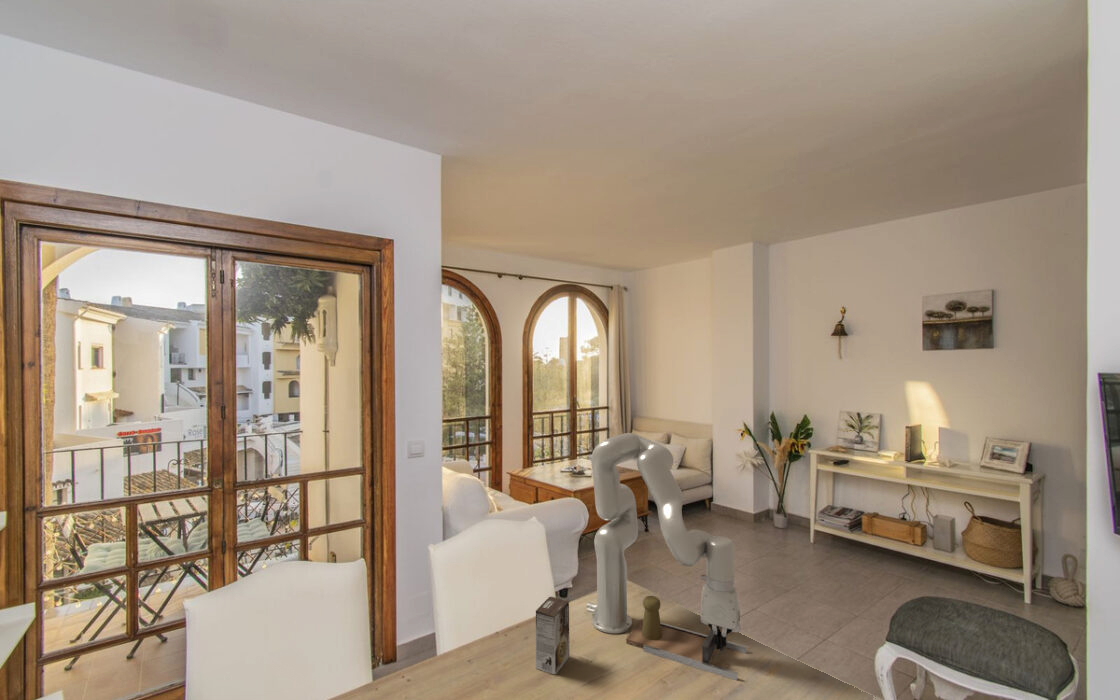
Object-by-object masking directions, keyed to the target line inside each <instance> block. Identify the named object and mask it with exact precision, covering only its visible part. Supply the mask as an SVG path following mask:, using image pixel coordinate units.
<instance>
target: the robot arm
mask: <svg viewBox="0 0 1120 700" xmlns="http://www.w3.org/2000/svg"><path fill="white" fill-rule="evenodd" d="M590 459H591V462H590V463H591V470H592V476H593V490H594V491H593V492H594V501H595V502H594V503H595V510H596V513H597V516H598V517H599V518H600V519H602V520H603V521H609V522H607V523H605V524H604V525H602V526H601V527H599V529H598V530H597V531H596V533H595V536H594V539H593V540H594V541H593V543H594V550H595V556H596V598H597V599H596V603H593V602H589V601H588V602H587V603H586V613H590V614H593V616H592V625H593V627H594V628H596V630H599V631H600V632H603V633H607V634H621V633H625V632H627V631H628V630H631V628H632V625H633V619H632V617H631V616H630V615H629V614H628V566H627V561H626V558H625V551H626V549H628V547H630V546H631V545H632V544H634V543H635V542H636V540H637V538H638V535H639V522H638V513H637V503H636V497H635V495H634V492H633V491H632V489H631V488H630V487H629V486H628V485H626V484H623V483H621V478H620V472H619V469H618V467H617V466H618V465H619V464H622V463H625V462H627V461H630V460H633V461H635V462H636V467H637V470H638V471H639V473H640V476H641V477H642V479H643V481H644V483H645V486H646V487H647V488H648V491H649V492H650V495H651V497H652V499H653V501H654V503H655V505H656V507H657V515H658V516H657V517H658V520H659V525H660V530H661V534H662V536H663V539H664V541H665V543H666V545H667V547H668V549H669V551H670V553H671V554H672V556H673V557H674V559H675V560H676V561H677V562H678V563H679V564H680V565H682V566H684V567H693V566H696V564H698V563H699V562H700V561H701V560H702V559H703V558H704V559H706V562H705V563H706V564H705V565H706V570H705V571H706V573H705V574H701V575H700V576H701V580H703V581H705V583H704V584H703V587H702V591H701V600H700V601H701V602H700V622H701V623H702V624H704V625H707V626H708V627H709V628H710V630H712V631H713V634H714V643H715V644H716V650H720V651H721V652H722V651H724V648H726V641H727V635H729V634H731V633H740V631H741V625H740V620H741V613H740V601H739V600H740V599H739V595H738V589H737V587H735V544H734V542H733V540H732V539H731V538H728V537H726V536H722V535H714V534H711V533H709V532H706V531H705V530H700V529H691V530H689V531H688V530H687V528H686V526H685V522H684V519H683V513H682V512H683V511H682V510H683V502H684V501H683V500H684V496H683V492H682V490H681V488H680V486H679V484H678V483H677V481H676V478H675V477H674V475H673V472H672V470H671V469H672V467H673V466H674V456H673V454H672V452H671V451H670V449H668V448H667V447H665V446H664V445H662V444H660V443H657V442H656V441H652V440H650V439H648V438H646V437H643V436H642V435H639V434H636V433H633V432H626V433H625V432H624V433H622V434H618V435H614V436H611V437H609V438H607V439H604V440H603V441H601V442H599V443H598V444H597V445H596V446H595V447H594V449H593V451H592V454H591V458H590ZM720 628H722V629H720Z"/></svg>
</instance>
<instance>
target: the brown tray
mask: <svg viewBox="0 0 1120 700" xmlns="http://www.w3.org/2000/svg"><path fill="white" fill-rule="evenodd" d="M642 627H643V620H642V619H640V621H638V623H637V624H636V625H635V627H634V628H633V629H632V631H631V632H630V634H629V635H628V636H627V638H625V641H626V644H629V645H632V646H635V647H639V648H641V649H643V646H644V644H645V645H648V646H651V647H655V648H658V649H661V650H665V651H668V652H671V653H674V654H678V655H681V656H684V657H688V658H691V659H694V660H697V661H701V662H704V663H707V664H711V662H712V659H713V658H714V655H715V654H716V651H717V649H716V644H715V643H714V634H713V631H712V630H711V629H710V630H709V632H708V634H707V635H708V636H707V638H703V637H699V636H696V635H692V634H688V633H685V632H681V631H678V630H674V629H671V628H667V627H663V626H661V632H662V637H661V638H660V639H658V640H649V639H646V638H644V637H643V636H642Z"/></svg>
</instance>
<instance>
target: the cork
mask: <svg viewBox="0 0 1120 700" xmlns="http://www.w3.org/2000/svg"><path fill="white" fill-rule="evenodd" d="M642 605H643V608H644V613H643V620H642V621H643V627H642V636H643V637H644V638H646V639H649V640H658V639H660V638H661V637H662V632H661V624H660V622H661V619H660V608H661V600H660V599H659V597H656V596H655V595H654V596H653V595H648V596H645V597H644V599H643V601H642Z"/></svg>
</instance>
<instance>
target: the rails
mask: <svg viewBox="0 0 1120 700" xmlns="http://www.w3.org/2000/svg"><path fill="white" fill-rule="evenodd" d="M660 624H661V626H663V627H667V628H671V629H674V630H678V631H681V632H685V633H688V634H692V635H696V636H699V637H703V638H707V636H708V634H704V633H701V632H697V631H693V630H689V629H686V628H681V627H678V626H675V625H671V624H667V623H664V622H661V621H660ZM725 648H727V649H730V650H734V651H736V652H737V651H738V652H741V653H745V654H747V650H748V649H747V646H746V645H744V644H740V643H736V642H732V641H729V640H726V647H725ZM642 650H643V652H644V653H647V654H651V655H654V656H657V657H660V658H664V659H667V660H670V661H673V662H676V663H680V664H683V665H687V666H690V667H693V668H696V669H700V670H702V671H706V672H708V673H712V674H715V675H718V676H722V677H725V678H728V679H731V680H734V681H738V672H736V671H733V670H730V669H726V668H723V667H722V666H721V667H720V666H717V665H713V664H711V663H710V664H707V663H704V662H701V661H697V660H694V659H691V658H688V657H684V656H681V655H678V654H674V653H671V652H668V651H665V650H661V649H658V648H655V647H651V646H648V645H645V644H644V646H643V648H642Z"/></svg>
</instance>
